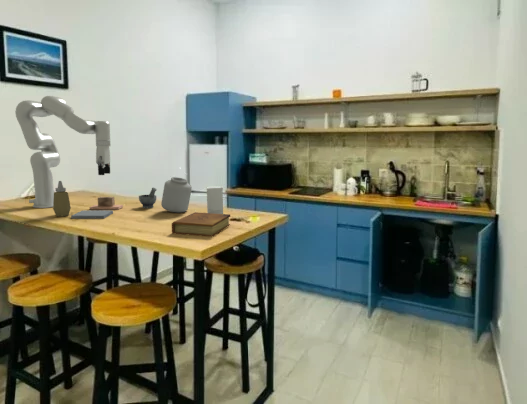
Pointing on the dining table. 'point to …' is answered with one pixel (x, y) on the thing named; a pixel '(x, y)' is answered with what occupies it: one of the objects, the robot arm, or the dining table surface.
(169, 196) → the jar
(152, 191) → the mortar and pestle
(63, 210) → the squeeze bottle
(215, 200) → the skincare box
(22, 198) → the dining table surface
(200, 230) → the diary
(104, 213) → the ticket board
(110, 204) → the stub
